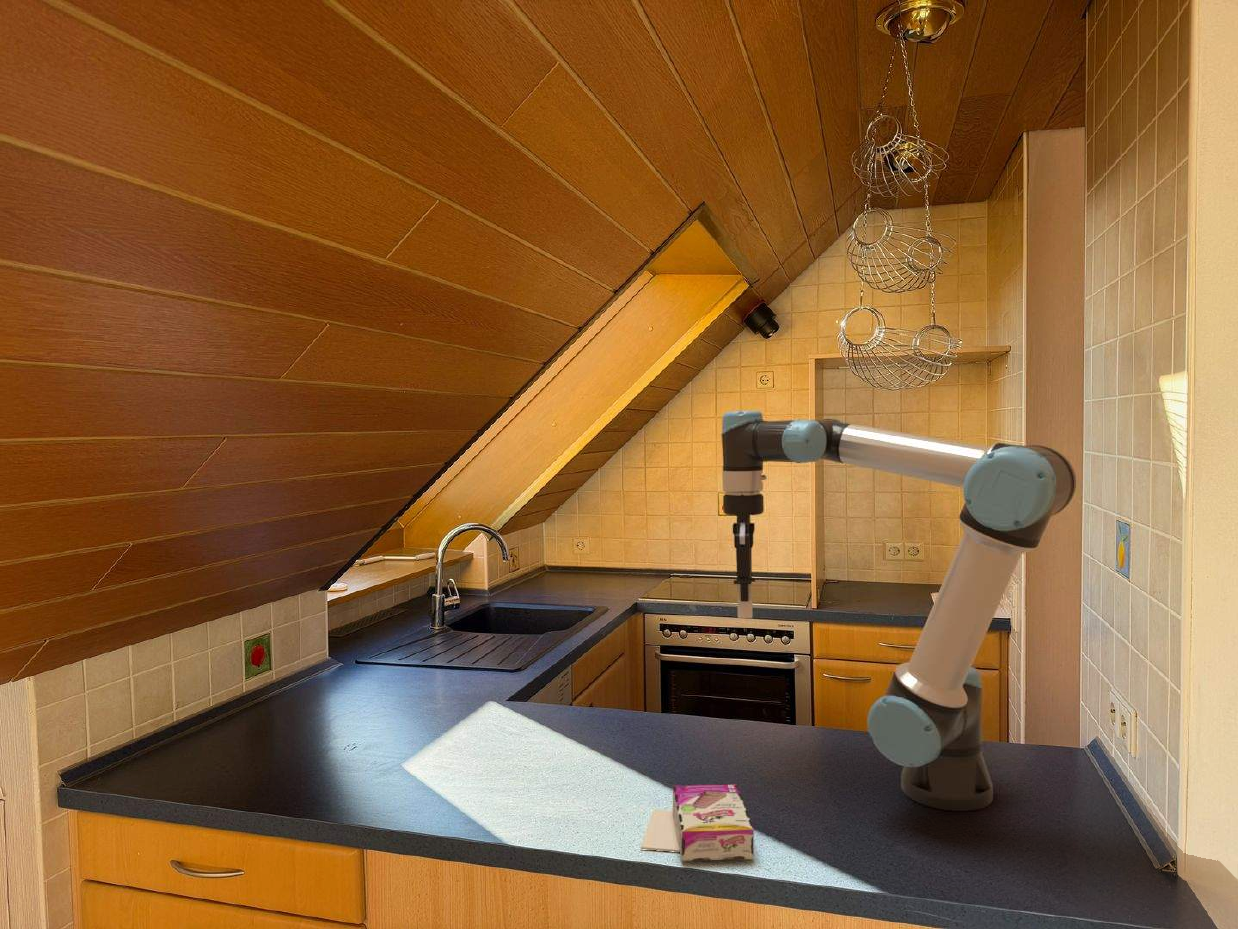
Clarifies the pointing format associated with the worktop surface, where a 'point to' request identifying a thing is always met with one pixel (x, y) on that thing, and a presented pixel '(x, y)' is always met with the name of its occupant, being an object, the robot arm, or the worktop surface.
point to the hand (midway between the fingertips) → (745, 617)
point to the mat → (661, 832)
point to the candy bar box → (712, 823)
